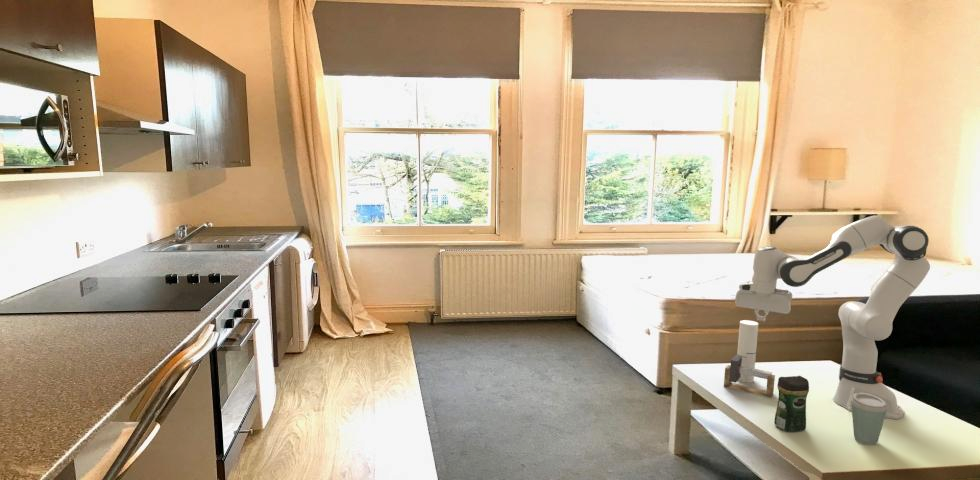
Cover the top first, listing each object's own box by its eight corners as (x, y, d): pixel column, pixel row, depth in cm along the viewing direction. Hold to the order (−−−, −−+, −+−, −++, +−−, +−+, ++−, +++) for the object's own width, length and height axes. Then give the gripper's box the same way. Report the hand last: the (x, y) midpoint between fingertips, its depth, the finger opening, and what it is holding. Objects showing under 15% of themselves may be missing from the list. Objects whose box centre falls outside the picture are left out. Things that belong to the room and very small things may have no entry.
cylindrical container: (755, 383, 240) (760, 325, 236) (737, 381, 241) (742, 324, 238) (751, 376, 247) (756, 320, 243) (733, 375, 248) (738, 319, 245)
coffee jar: (793, 421, 205) (798, 372, 202) (809, 431, 197) (814, 380, 194) (769, 423, 203) (774, 373, 201) (784, 433, 195) (789, 382, 193)
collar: (740, 376, 237) (742, 356, 236) (735, 382, 231) (737, 361, 229) (734, 375, 239) (735, 354, 237) (729, 381, 232) (730, 360, 231)
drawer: (773, 394, 228) (774, 375, 227) (771, 397, 225) (773, 378, 224) (726, 383, 239) (727, 365, 238) (723, 386, 236) (725, 367, 234)
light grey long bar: (771, 378, 228) (772, 371, 227) (770, 380, 225) (770, 373, 225) (729, 369, 237) (730, 362, 236) (727, 371, 235) (728, 364, 234)
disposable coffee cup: (891, 446, 188) (897, 403, 186) (866, 450, 185) (871, 406, 183) (862, 431, 198) (867, 390, 196) (838, 435, 195) (843, 393, 193)
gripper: (794, 289, 224) (790, 323, 226) (738, 282, 236) (736, 314, 237) (791, 292, 219) (788, 327, 220) (735, 284, 230) (732, 317, 232)
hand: (760, 320), depth 229 cm, fingers closed
